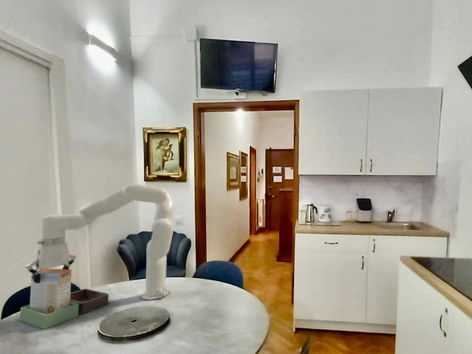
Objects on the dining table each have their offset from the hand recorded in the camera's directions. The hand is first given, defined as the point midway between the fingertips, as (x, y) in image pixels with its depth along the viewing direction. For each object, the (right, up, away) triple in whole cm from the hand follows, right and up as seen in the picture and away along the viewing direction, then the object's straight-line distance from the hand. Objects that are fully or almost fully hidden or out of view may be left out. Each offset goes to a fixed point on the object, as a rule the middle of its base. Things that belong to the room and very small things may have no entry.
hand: (51, 279), depth 115 cm
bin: (0, -18, -1) cm, 18 cm away
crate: (+4, -18, +11) cm, 22 cm away
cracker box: (0, -17, -1) cm, 17 cm away
